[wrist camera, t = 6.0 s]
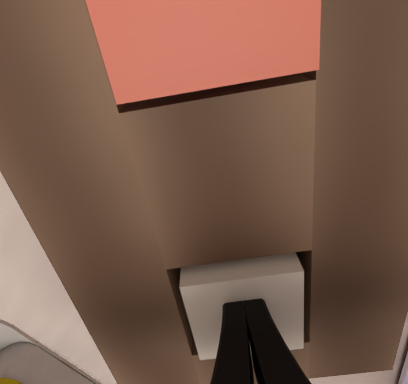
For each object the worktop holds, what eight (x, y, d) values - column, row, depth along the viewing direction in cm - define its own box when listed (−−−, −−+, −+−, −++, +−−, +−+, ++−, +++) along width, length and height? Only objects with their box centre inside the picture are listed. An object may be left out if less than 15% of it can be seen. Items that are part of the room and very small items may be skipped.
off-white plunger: (278, 214, 12) (304, 271, 9) (281, 282, 14) (303, 348, 11) (184, 227, 12) (179, 287, 9) (199, 293, 14) (199, 360, 11)
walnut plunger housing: (454, -365, 6) (677, -717, 3) (358, 311, 15) (392, 369, 12) (-103, -220, 6) (-315, -402, 4) (137, 338, 16) (125, 398, 13)
